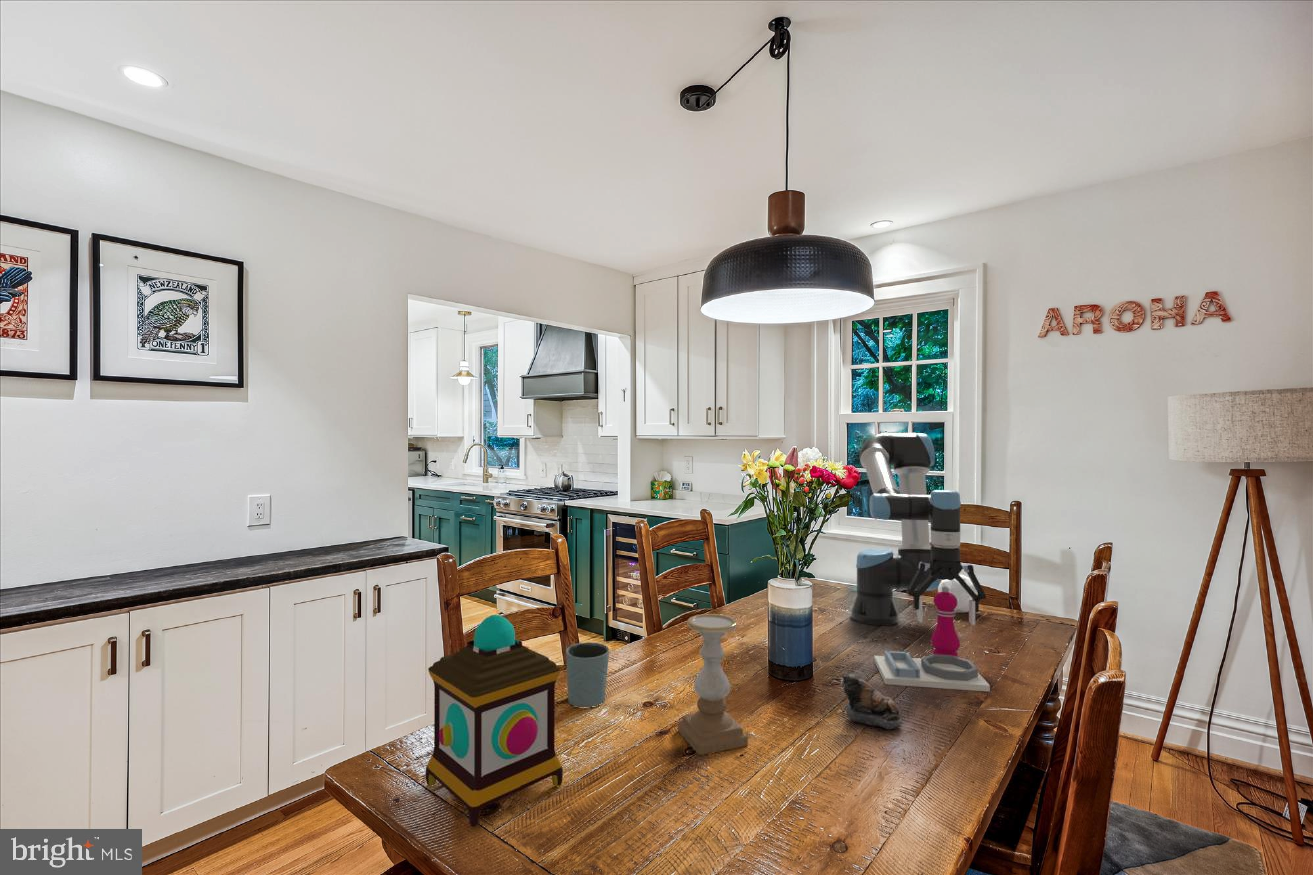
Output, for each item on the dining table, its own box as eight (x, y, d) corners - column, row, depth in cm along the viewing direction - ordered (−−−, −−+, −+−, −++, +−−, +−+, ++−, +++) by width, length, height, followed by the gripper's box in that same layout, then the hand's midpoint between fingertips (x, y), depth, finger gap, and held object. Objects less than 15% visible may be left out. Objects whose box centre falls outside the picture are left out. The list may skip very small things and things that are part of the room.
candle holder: (676, 730, 125) (676, 616, 125) (723, 721, 129) (723, 610, 129) (698, 756, 115) (698, 631, 115) (749, 746, 119) (749, 625, 119)
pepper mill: (953, 654, 171) (953, 583, 171) (964, 663, 163) (964, 589, 163) (927, 653, 171) (927, 583, 171) (936, 662, 164) (936, 589, 164)
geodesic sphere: (996, 602, 204) (980, 565, 212) (959, 603, 202) (944, 566, 210) (974, 618, 215) (959, 582, 223) (939, 619, 213) (925, 583, 222)
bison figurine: (901, 722, 129) (901, 675, 129) (902, 737, 123) (902, 688, 123) (843, 713, 133) (843, 668, 133) (841, 727, 127) (841, 680, 127)
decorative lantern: (414, 785, 105) (414, 614, 105) (513, 745, 119) (514, 594, 119) (468, 839, 91) (469, 641, 91) (574, 786, 105) (574, 615, 105)
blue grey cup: (583, 688, 146) (583, 639, 146) (617, 697, 141) (618, 646, 141) (556, 704, 138) (556, 652, 138) (591, 714, 132) (592, 660, 133)
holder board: (874, 660, 165) (874, 648, 165) (968, 667, 161) (968, 654, 161) (885, 684, 149) (885, 670, 149) (989, 691, 145) (989, 677, 145)
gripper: (901, 546, 166) (901, 623, 166) (999, 549, 162) (999, 628, 161) (895, 542, 173) (895, 616, 173) (988, 545, 169) (989, 621, 169)
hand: (945, 622), depth 167 cm, fingers open, 13 cm apart
